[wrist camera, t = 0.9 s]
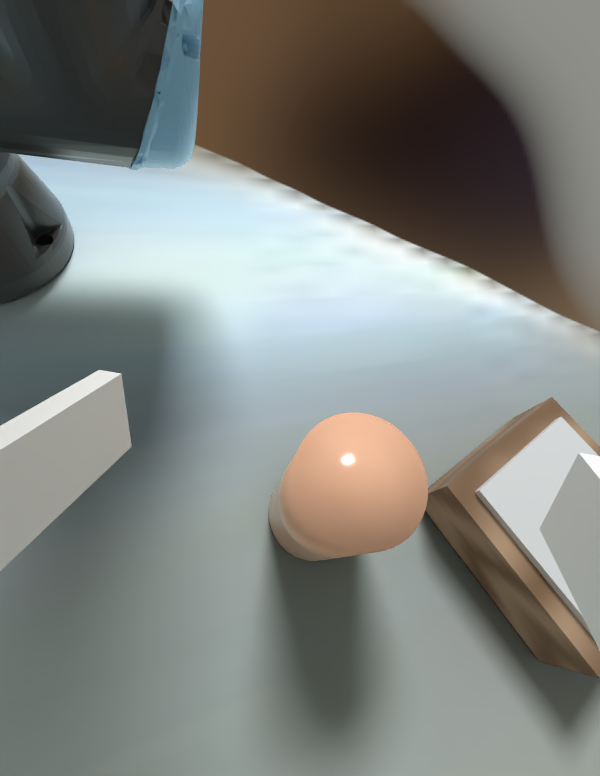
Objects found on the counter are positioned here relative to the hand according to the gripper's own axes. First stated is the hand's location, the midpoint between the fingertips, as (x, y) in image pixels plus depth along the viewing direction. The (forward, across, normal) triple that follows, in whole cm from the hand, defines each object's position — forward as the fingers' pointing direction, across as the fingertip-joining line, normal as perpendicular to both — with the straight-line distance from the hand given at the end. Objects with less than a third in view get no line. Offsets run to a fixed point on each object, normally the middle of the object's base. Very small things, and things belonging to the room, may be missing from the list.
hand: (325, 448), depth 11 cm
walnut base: (+18, +17, -16) cm, 30 cm away
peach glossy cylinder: (+13, -1, -15) cm, 20 cm away
